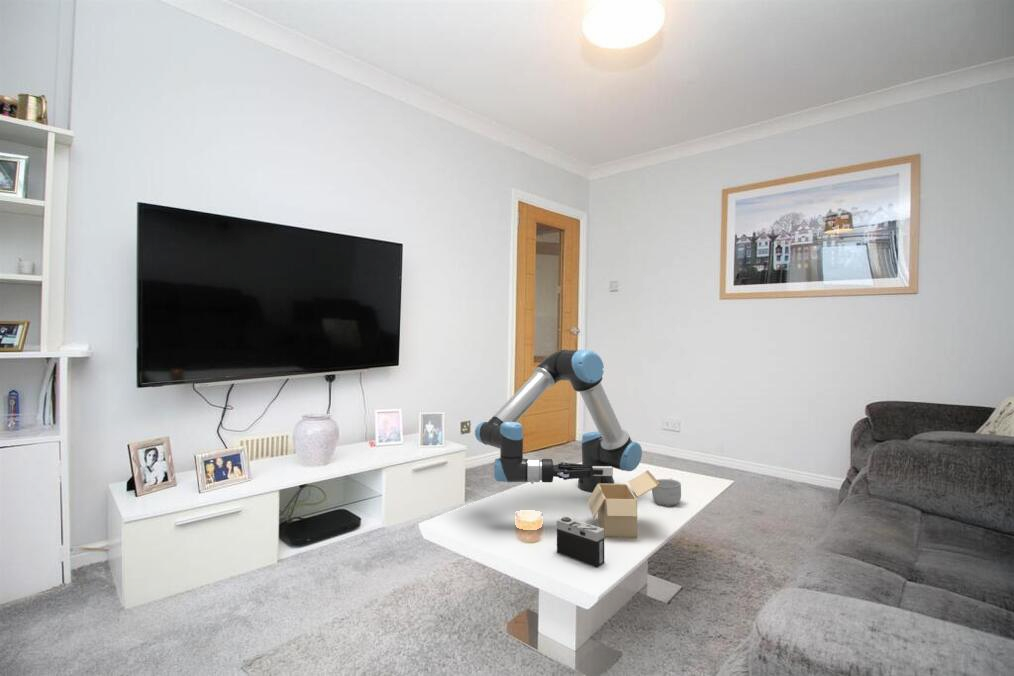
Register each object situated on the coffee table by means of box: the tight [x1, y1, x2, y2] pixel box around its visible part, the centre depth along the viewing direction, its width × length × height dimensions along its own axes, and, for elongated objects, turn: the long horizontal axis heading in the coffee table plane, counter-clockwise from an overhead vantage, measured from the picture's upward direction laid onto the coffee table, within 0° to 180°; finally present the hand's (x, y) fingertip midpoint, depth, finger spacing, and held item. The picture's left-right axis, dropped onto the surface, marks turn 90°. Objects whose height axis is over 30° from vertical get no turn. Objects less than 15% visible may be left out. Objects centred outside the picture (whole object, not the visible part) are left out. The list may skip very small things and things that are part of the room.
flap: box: [627, 469, 660, 498], centre depth 160 cm, size 1×16×8 cm
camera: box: [556, 516, 605, 568], centre depth 140 cm, size 14×8×10 cm, turn 47°
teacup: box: [651, 477, 682, 506], centre depth 185 cm, size 14×11×8 cm
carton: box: [587, 483, 639, 539], centre depth 160 cm, size 14×21×12 cm, turn 177°
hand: (612, 471), depth 160 cm, fingers closed
